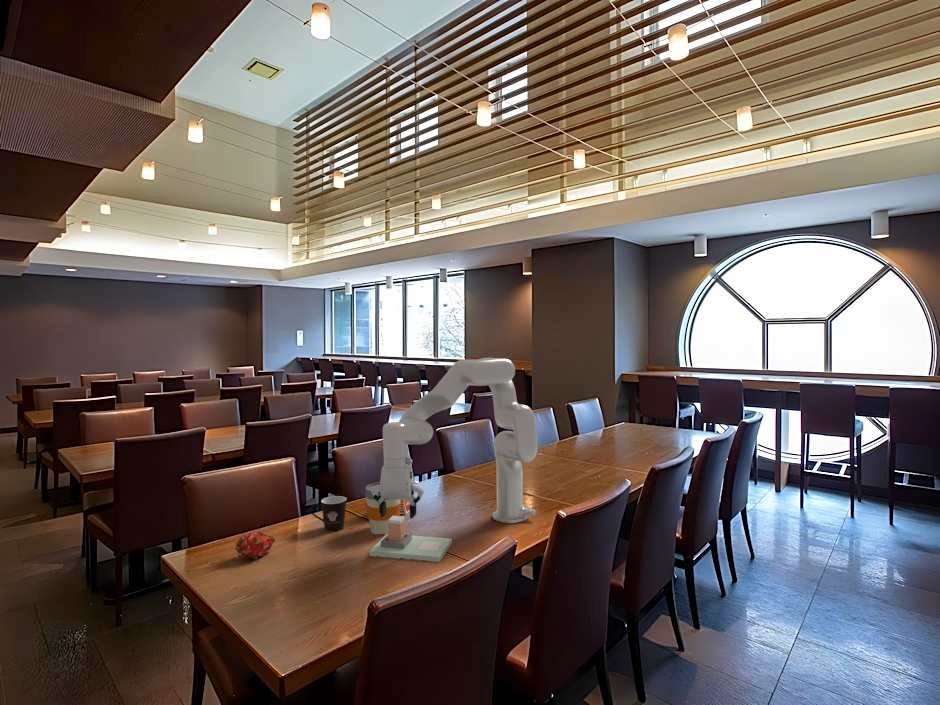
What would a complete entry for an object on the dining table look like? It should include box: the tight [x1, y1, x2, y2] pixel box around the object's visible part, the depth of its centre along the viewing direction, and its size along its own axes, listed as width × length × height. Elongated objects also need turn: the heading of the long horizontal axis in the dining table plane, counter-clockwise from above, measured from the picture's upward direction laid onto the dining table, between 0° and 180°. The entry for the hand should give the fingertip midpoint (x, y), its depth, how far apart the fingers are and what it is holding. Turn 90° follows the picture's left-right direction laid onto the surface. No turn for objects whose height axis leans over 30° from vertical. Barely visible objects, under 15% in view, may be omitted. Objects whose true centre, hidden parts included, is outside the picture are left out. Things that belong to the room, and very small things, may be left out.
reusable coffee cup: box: [364, 481, 401, 535], centre depth 174 cm, size 13×12×15 cm
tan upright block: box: [388, 515, 406, 542], centre depth 158 cm, size 4×4×8 cm
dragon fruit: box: [234, 530, 276, 560], centre depth 153 cm, size 8×8×12 cm
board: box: [369, 533, 453, 563], centre depth 157 cm, size 22×14×3 cm, turn 78°
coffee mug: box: [309, 495, 348, 533], centre depth 176 cm, size 12×9×10 cm
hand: (398, 516), depth 158 cm, fingers open, 9 cm apart
